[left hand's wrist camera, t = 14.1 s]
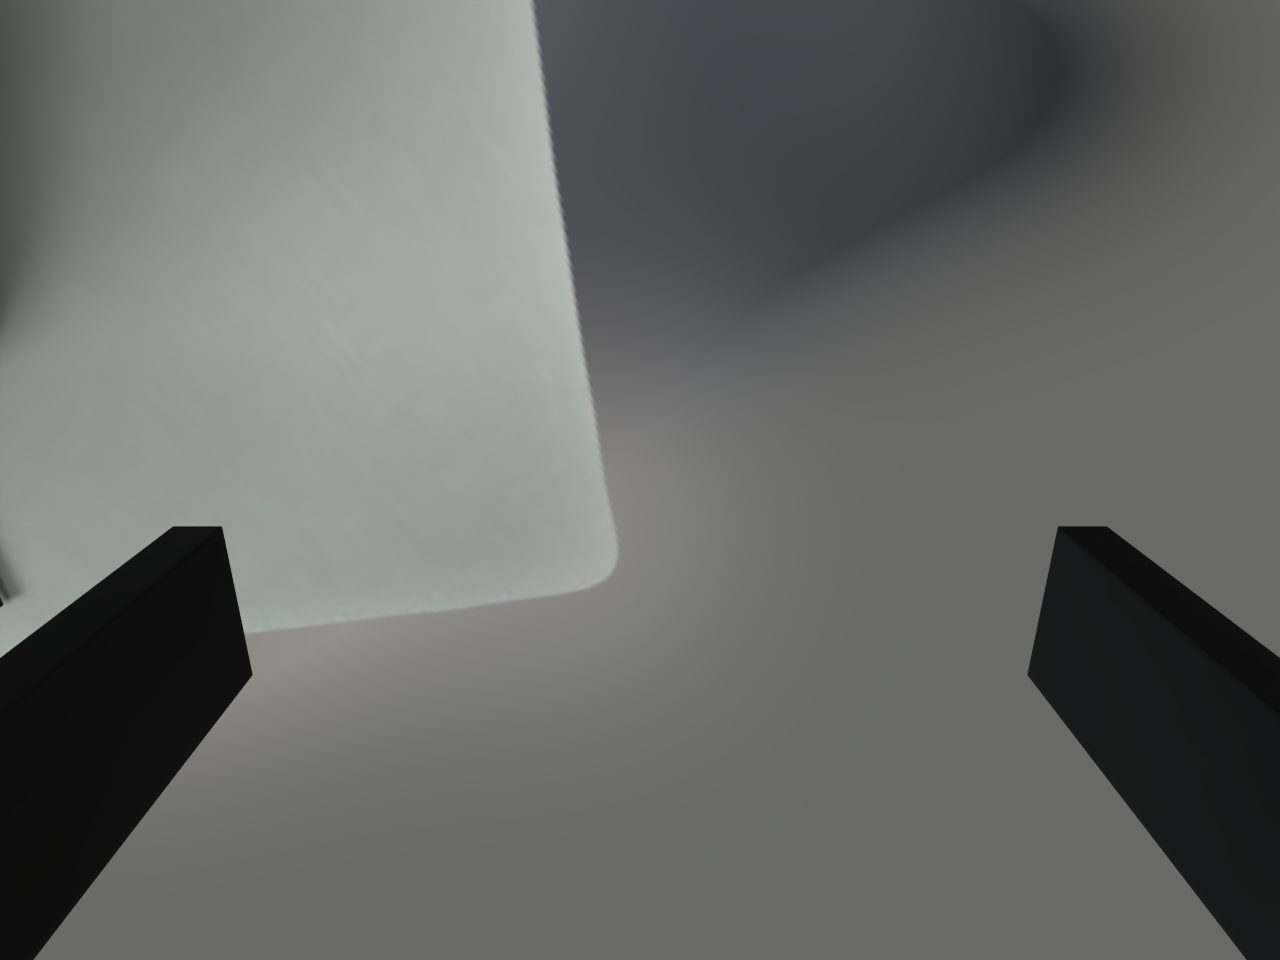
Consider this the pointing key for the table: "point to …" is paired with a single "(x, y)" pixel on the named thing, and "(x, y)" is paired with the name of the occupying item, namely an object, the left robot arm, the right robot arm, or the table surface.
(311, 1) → the table surface
